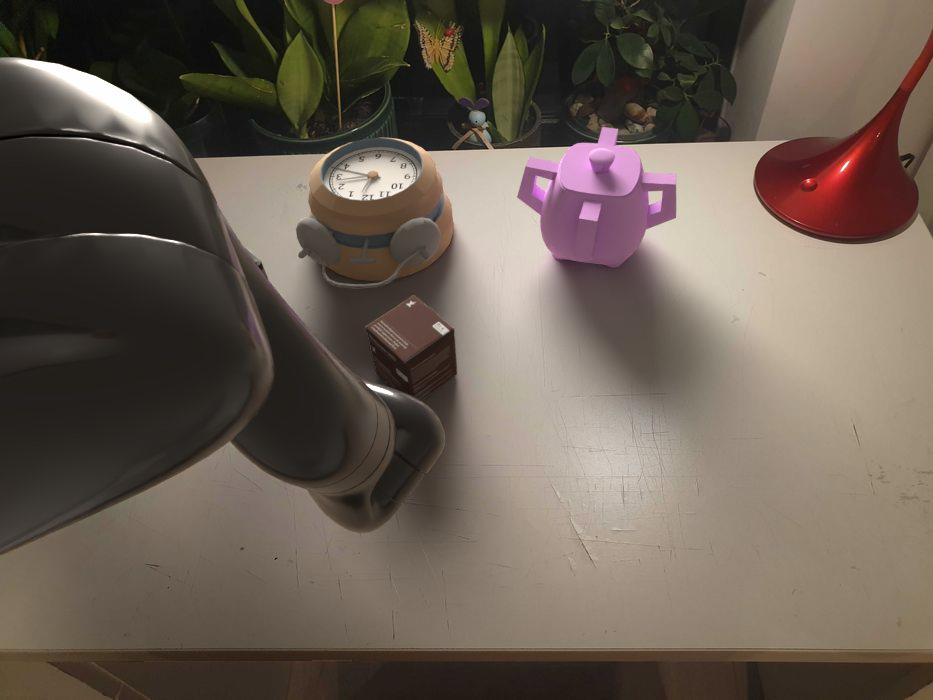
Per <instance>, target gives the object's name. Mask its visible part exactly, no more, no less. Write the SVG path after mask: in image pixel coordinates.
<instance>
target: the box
mask: <svg viewBox="0 0 933 700" xmlns="http://www.w3.org/2000/svg"><path fill="white" fill-rule="evenodd" d="M364 328H365V331H366V334H367V339H368V343H369V347H370V352H371V356H372V361H373V364H374V370H375V373H376V375H377V376H378V377H380V379H381V380H382V381H383V382H384V383H385V384H386V386H387V387H390V388H393V389H396V390H399V391H402V392H404V393H407V394H409V395H411V396H413V397H415V398H417V399H419V400H421V401H422V402H424V400H426V399H427V398H428V397H429V396H431V395H432V394H434V393H435V392H436V391H437V390H439V389H441V387H443V386H444V385H446V384H447V383H449V382H450V381H451V380H453V379H454V378H455V377H456V376H458V366H457V365H458V364H457V351H456V349H457V348H456V336H455V328H454V327H453V326H452V325H451V324H450V323H449V322H447V321H446V320H445V319H443V317H441V316H440V315H439V314H438V313H437V312H436V310H435V309H433V308H432V307H430V306H428V305H427V304H426V303H425V302H423V301H422V300H421V299H420V298H419V297H417V296H416V295H415V294H412V295H411V296H409V297H408V298H406V299H405V300H403V301H402V302H400V303H398V304H397V305H396V306H394V307H393V308H391V309H390V310H388V311H387V312H385V313H384V314H382V315H381V316H379V317H377V318H376V319H374V320H372V321H371V322H370V323H369V324H366V325H365V327H364Z"/></svg>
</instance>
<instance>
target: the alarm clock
mask: <svg viewBox="0 0 933 700" xmlns="http://www.w3.org/2000/svg"><path fill="white" fill-rule="evenodd" d="M308 186H309V189H308V190H309V191H308V198H307V199H308V200H307V202H308V205H309V208H310V212H309V216H306V217H302V218H300V220H299V221H298V223H297V225H296V227H295V233H296V234H295V235H296V240H297V241H298V244H299V245H300V247H301V249H302V250H301V251H299V252H298V258H299V259H304V258H306V257H309V258H310V259H311V260H313V261H314V262H315V263H317V264H319V265H321V276H322V277H323V279H324V280H325V281H326V283H327V284H330V285H332V286H334V287H337V288H343V289H344V288H345V289H355V290H356V289H371V288H380V287H382V286H383V287H384V286H385V285H388V284H390V283H391V282H393V280H397V279H400V278H405V277H408V276H411V275H414V274H415V273H417V272H420V271H422V270H424V269H425V268H428V267H430V266H431V265H432V264H433V263H435V261H438V259H439V258H440V257H441V256H442V255H443V254H444V252H445V251H446V250H447V248H448V247H449V245H450V244H451V240H452V238H453V234H454V232H455V230H454V229H455V228H454V217H453V216H454V215H453V206H452V203H451V201H450V198H449V196H448V195H447V192H446V191H445V190H444V187H443V186H444V183H443V178H442V176H441V174H440V172H439V170H438V168H437V165H436V162H435V161H434V158H433V157H432V155H431V154H430V153H429V152H428V151H426V150H425V149H424V148H423V147H421V146H419V145H417V144H416V143H413V142H411V141H407V140H404V139H400V138H393V137H371V138H370V137H369V138H363V139H359V140H355V141H351V142H348V143H346V144H343V145H341V146H339V147H336V148H334V149H333V150H331V151H329V152H327V154H325V155H324V156H323V157H322V158H321V159H320V160H319V161H318V162H317V163H316V164H315V165H314V166H313V169H312V171H311V173H310V174H309V183H308ZM326 267H327V268H328V269H330V270H331V271H333V272H334V273H336V274H338V275H340V276H343V277H347V278H349V279H352V280H357V281H366V282H371V283H358V284H356V283H345V282H337V281H335V280H333V279H332V278H331V279H330V278H329V276H328V275H327V274H326ZM372 282H373V283H372Z"/></svg>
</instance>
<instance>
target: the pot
mask: <svg viewBox="0 0 933 700" xmlns="http://www.w3.org/2000/svg"><path fill="white" fill-rule="evenodd" d="M618 136H619V128H613V127H608V126H607V127H606V126H602V127H601V130H600V134H599V136H598V141H597V143H596V142H577V143H575V144H573V145H572V146H570V147H569V148H568V149H567V150H566V152H565V153H564V155H563V157H562V158H561V160H560V161H559V162H558V161H553V160H549V159H543V158H538V157H533V156H529V157H528V160H527V162H526V165H525V167H524V171H523V175H522V178H521V181H520V185H519V189H518V192H517V196H516V198H517V199H518V200H519V201H521V202H522V203H524V204H525V205H526V206H528V207H529V209H532V210H533V211H534V212H535V213H537V215H539V216H540V217H539V218H540V220H539V225H540V226H539V227H540V234H541V238H542V241H543V243H544V245H545V246H546V248H547V250H548V251H550V253H551V254H552V257H553V258H554V259H556V260H558V261H567V260H569V261H575V262H580V263H587V264H595V265H596V264H597V265H605V266H606V267H609V268H619V267H620V266H622V264H623V263H624V262H625V261H626V260H628V259H629V258H630V257H631V256H632V255H633V254H634V253H635V252H636V251H637V250H638V248H639V246H640V245H641V243H642V241H643V238H644V236H645V235H646V231H647V230H649V229H651V228H653V227H656V226H659V225H661V224H662V225H663V224H664V223H666V222H669V221H672V220H675V219H676V218H677V173H670V172H669V173H666V172H645V170H644V166H643V163H642V159H641V157H640V155H639V153H638V152H637V151H636V150H635V149H633V148H630V147H627V146H622V145H617V142H618ZM538 177H540V178H544V179H547V180H549V181H548V185H547V187H546V190H544V189H543V188H541V187H540V186H538V185H537V181H538ZM649 192H661V199H660V200H659V201H656V202H654V203H651V204H650V198H649Z"/></svg>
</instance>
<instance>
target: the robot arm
mask: <svg viewBox="0 0 933 700" xmlns="http://www.w3.org/2000/svg"><path fill="white" fill-rule="evenodd" d="M217 201H218V200H217V199H216V197H215V194H214V192H213V190H212V187H211V185H210V183H209V181H208V179H207V177H206V176H205V174H204V172H203V170H202V168H201V167H200V165H199V164H198V162H197V160H196V159H195V158H194V156H193V155H192V153H191V152H190V151H189V149H188V147H187V146H186V145H185V143H184V142H183V141H182V139H181V138H180V136H179V135H177V133H176V132H175V130H174V129H173V128H172V127H171V126H170V125H169V124H168V123H167V122H166V121H165V120H164V119H163V117H161V116H160V115H159V114H158V113H156V112H155V111H154V110H152V109H151V108H150V107H148V106H147V105H146V104H144V103H143V102H142V101H140V100H139V99H138V98H137V97H135V96H134V95H132V94H131V93H129V92H127V91H125V90H123V89H121V88H120V87H118V86H116V85H114V84H111V83H110V82H108V81H106V80H104V79H102V78H100V77H98V76H96V75H93V74H90V73H87V72H85V71H81V70H78V69H75V68H72V67H69V66H66V65H63V64H60V63H55V62H48V61H41V60H36V59H29V58H24V57H16V56H15V57H6V56H5V57H0V557H1V556H4V555H6V554H8V553H10V552H13V551H16V550H18V549H19V548H20V549H21V548H22V547H24V546H26V545H29V544H31V543H33V542H36V541H38V540H39V539H43V538H45V537H46V536H48V535H49V536H50V535H51V534H53V533H54V534H55V532H58V531H60V530H62V529H66V528H67V527H69V526H72V525H74V524H76V523H78V522H81V521H83V520H85V519H87V518H90V517H92V516H94V515H96V514H98V513H100V512H103V511H105V510H107V509H109V508H111V507H114V506H115V505H118V504H120V503H122V502H124V501H127V500H128V499H131V498H133V497H135V496H138V495H139V494H141V493H145V492H146V491H148V490H150V489H152V488H154V487H156V486H158V485H160V484H162V483H164V482H165V481H168V480H170V479H172V478H173V477H175V476H177V475H179V474H180V473H181V474H182V473H183V472H185V471H186V470H188V469H190V468H191V467H193V466H195V465H196V464H198V463H200V462H202V461H203V460H205V459H207V458H209V457H210V456H211V455H212V454H214V453H216V452H217V451H218V450H220V449H222V448H223V447H224V446H225V445H227V444H228V443H231V445H232V446H233V447H234V448H235V449H236V450H237V451H239V453H240V454H242V455H243V457H245V458H246V459H247V460H249V461H250V462H251V463H252V464H254V465H255V466H256V467H257V468H258V469H259V470H261V471H262V472H264V473H266V475H269V476H271V477H273V478H275V479H277V480H279V481H281V482H283V483H286V484H288V485H292V486H294V487H298V488H300V489H303V490H304V489H305V490H306V491H307V492H308V494H309V496H310V498H311V499H312V500H313V502H314V503H315V504H316V505H317V507H318V508H319V510H321V511H322V513H323V514H324V515H326V517H328V519H330V520H331V521H332V522H334V523H335V524H337V525H338V526H339V527H341V528H343V529H345V530H347V531H349V532H354V533H358V534H367V533H371V532H374V531H377V530H378V529H380V528H382V527H383V526H384V525H386V524H387V523H388V522H389V521H390V520H391V519H392V518H393V517H394V515H395V514H396V513H398V511H399V509H400V508H401V507H402V505H403V504H404V503H405V501H406V500H407V499H408V498H409V496H410V495H411V494H412V493H413V491H414V490H415V488H416V487H417V486H419V485H418V484H419V483H420V482H421V481H422V479H423V478H424V477H425V475H426V474H428V472H429V471H430V470H431V468H432V467H433V466H434V465H435V464H436V462H437V461H438V459H439V458H440V457H441V455H442V453H443V451H444V448H445V445H446V434H445V428H444V427H443V424H442V421H441V420H440V417H439V416H438V415H437V413H436V412H435V411H434V410H433V409H432V408H431V407H430V406H429V405H427V403H425V401H421V400H419V399H417V398H415V397H413V396H411V395H409V394H407V393H404V392H402V391H399V390H396V389H393V388H390V387H389V386H388V385H384V384H381V383H378V382H374V381H372V380H369V379H367V378H364V377H361V376H359V375H357V374H356V373H354V371H352V370H351V369H350V368H349V367H348V366H346V364H345V363H343V362H342V360H340V359H339V358H338V357H337V356H336V355H335V354H334V353H333V352H332V351H331V350H330V349H329V348H328V347H327V346H326V345H325V344H324V342H322V341H321V340H320V338H319V337H318V336H317V335H316V334H315V333H314V332H313V331H312V330H311V328H310V327H309V326H308V325H307V324H306V323H305V322H304V320H302V319H301V317H299V315H298V314H297V312H295V310H294V309H293V308H292V307H291V306H290V305H289V304H288V302H287V301H286V300H285V299H284V297H282V295H281V294H280V293H279V292H278V290H277V289H276V287H275V286H274V285H273V284H272V283H271V281H270V279H269V278H268V274H267V272H266V269H265V267H264V265H263V262H262V260H261V259H260V258H259V257H258V256H257V255H256V254H254V252H253V251H252V250H250V249H249V248H248V247H246V246H245V245H244V244H243V243H242V242H241V240H240V238H239V237H238V236H237V235H236V232H235V231H234V230H233V228H232V226H231V224H230V223H229V221H228V219H227V218H226V217H225V215H224V214H223V211H222V210H221V208H220V207H219V205H218V202H217Z"/></svg>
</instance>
